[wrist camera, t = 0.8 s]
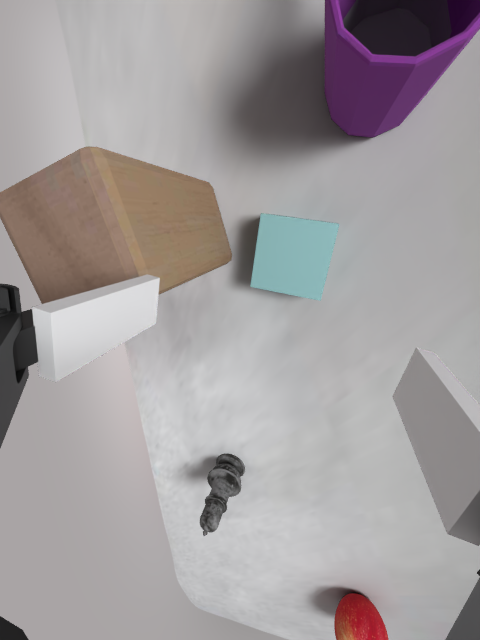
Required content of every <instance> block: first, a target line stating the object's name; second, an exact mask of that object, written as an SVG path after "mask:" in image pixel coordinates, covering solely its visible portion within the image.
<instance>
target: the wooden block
mask: <svg viewBox="0 0 480 640" xmlns="http://www.w3.org/2000/svg"><path fill="white" fill-rule="evenodd" d="M0 218H1V220H2V222H3V224H4V226H5V228H6V231H7V232H8V235H9V237H10V239H11V241H12V243H13V245H14V247H15V249H16V251H17V253H18V255H19V257H20V259H21V261H22V263H23V265H24V268H25V270H26V271H27V274H28V276H29V278H30V280H31V282H32V284H33V286H34V288H35V290H36V292H37V294H38V296H39V298H40V300H41V303H42V304H44V303H48V302H51V301H55V300H58V299H62V298H66V297H69V296H73V295H76V294H80V293H83V292H87V291H90V290H94V289H98V288H101V287H105V286H108V285H112V284H115V283H119V282H122V281H126V280H129V279H133V278H137V277H140V276H144V275H147V274H148V275H151V276H155V277H159V278H160V282H159V294H161V293H163V292H166V291H168V290H170V289H172V288H174V287H177V286H179V285H181V284H183V283H185V282H187V281H190V280H192V279H194V278H196V277H198V276H201V275H203V274H205V273H207V272H209V271H212V270H214V269H216V268H218V267H220V266H223V265H225V264H227V263H228V262H229V261H231V258H232V253H231V249H230V246H229V242H228V239H227V235H226V232H225V228H224V225H223V221H222V218H221V214H220V211H219V207H218V204H217V200H216V197H215V193H214V190H213V187H212V186H211V185H210V183H209V182H206V181H202V180H199V179H196V178H193V177H190V176H187V175H184V174H180V173H177V172H174V171H171V170H168V169H165V168H162V167H158V166H155V165H152V164H149V163H146V162H143V161H140V160H136V159H133V158H130V157H127V156H124V155H121V154H118V153H114V152H111V151H108V150H105V149H102V148H99V147H84V148H81V149H79V150H77V151H75V152H74V153H72V154H70V155H68V156H66V157H65V158H63V159H61V160H59V161H57V162H55V163H54V164H52V165H50V166H48V167H46V168H44V169H42V170H41V171H39V172H37V173H35V174H33V175H31V176H30V177H28V178H26V179H24V180H22V181H21V182H19V183H17V184H15V185H13V186H11V187H9V188H8V189H6V190H4V191H2V192H0ZM159 294H158V295H159Z"/></svg>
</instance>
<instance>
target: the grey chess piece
mask: <svg viewBox="0 0 480 640" xmlns="http://www.w3.org/2000/svg"><path fill="white" fill-rule="evenodd" d="M216 464H217V466H216V467H215V468H214V469H213V470H212V471H210V472H209V474H208V483H209V485H210V486H211V488H212V490H211V492H210V494H209V496H207V497H206V499H205V504H206V505H205V508H204V510H203V513H202V515H201V517H200V525H201V527H202V529H203V530H204V531H203V535H204V536H205V535H207V532H214V531H215V530H216V529H217V528H218V525H219V522H220V519H221V516H222V514H223V513H224V512H225V511H226V510H227V505H226V503H227V501H228V498H229V497H232V496H236V495H237V494H239V492H240V490H241V479H240V477H241V476H242V475H243V474H244V472H245V466H244V464H243V462H242V461H241V460H240V459H239V458H238V457H236V456H234V455H232V454H222V455H220V456H219V457H218V458H217V461H216Z"/></svg>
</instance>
